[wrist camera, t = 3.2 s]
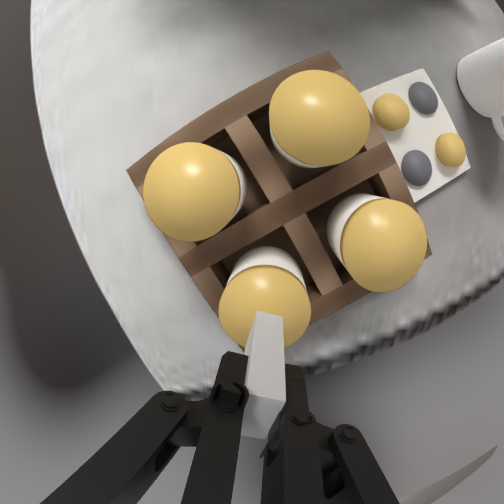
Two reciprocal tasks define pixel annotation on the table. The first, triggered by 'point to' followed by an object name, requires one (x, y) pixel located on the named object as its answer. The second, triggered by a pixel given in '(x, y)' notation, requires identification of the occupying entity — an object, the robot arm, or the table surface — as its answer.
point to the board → (280, 195)
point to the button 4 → (377, 240)
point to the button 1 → (193, 191)
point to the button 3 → (318, 119)
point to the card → (417, 131)
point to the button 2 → (265, 294)
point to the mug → (485, 82)
